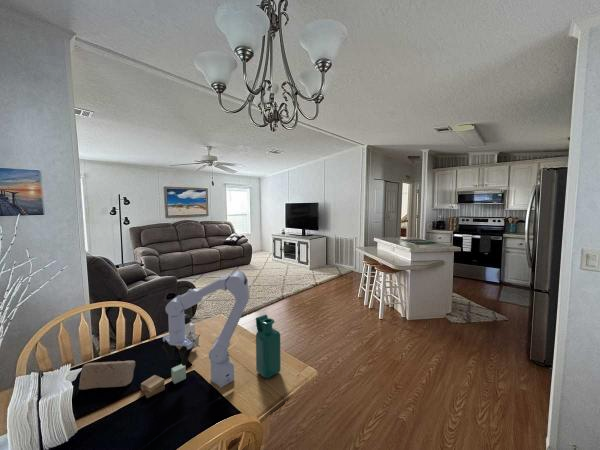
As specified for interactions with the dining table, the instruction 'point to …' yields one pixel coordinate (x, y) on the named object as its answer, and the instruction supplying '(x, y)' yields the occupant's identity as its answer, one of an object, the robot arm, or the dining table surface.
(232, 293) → the robot arm
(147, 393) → the slab lower
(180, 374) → the sage block
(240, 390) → the dining table surface
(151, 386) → the slab upper
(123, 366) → the brick
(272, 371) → the green bottle
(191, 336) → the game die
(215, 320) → the dining table surface
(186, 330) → the medicine bottle
